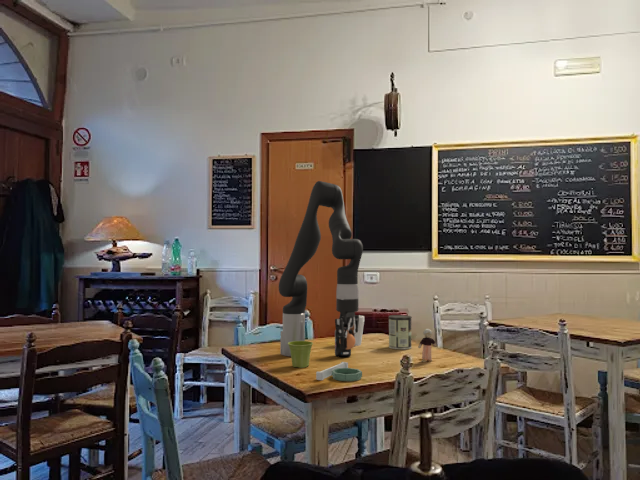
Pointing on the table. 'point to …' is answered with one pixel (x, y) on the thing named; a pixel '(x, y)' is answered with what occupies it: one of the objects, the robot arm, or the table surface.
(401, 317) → the coffee can
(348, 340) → the ball
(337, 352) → the supplement container
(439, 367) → the table surface
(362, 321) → the foam cup
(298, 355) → the plant pot
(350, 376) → the saucer
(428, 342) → the grandmother figurine
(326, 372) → the white long bar
